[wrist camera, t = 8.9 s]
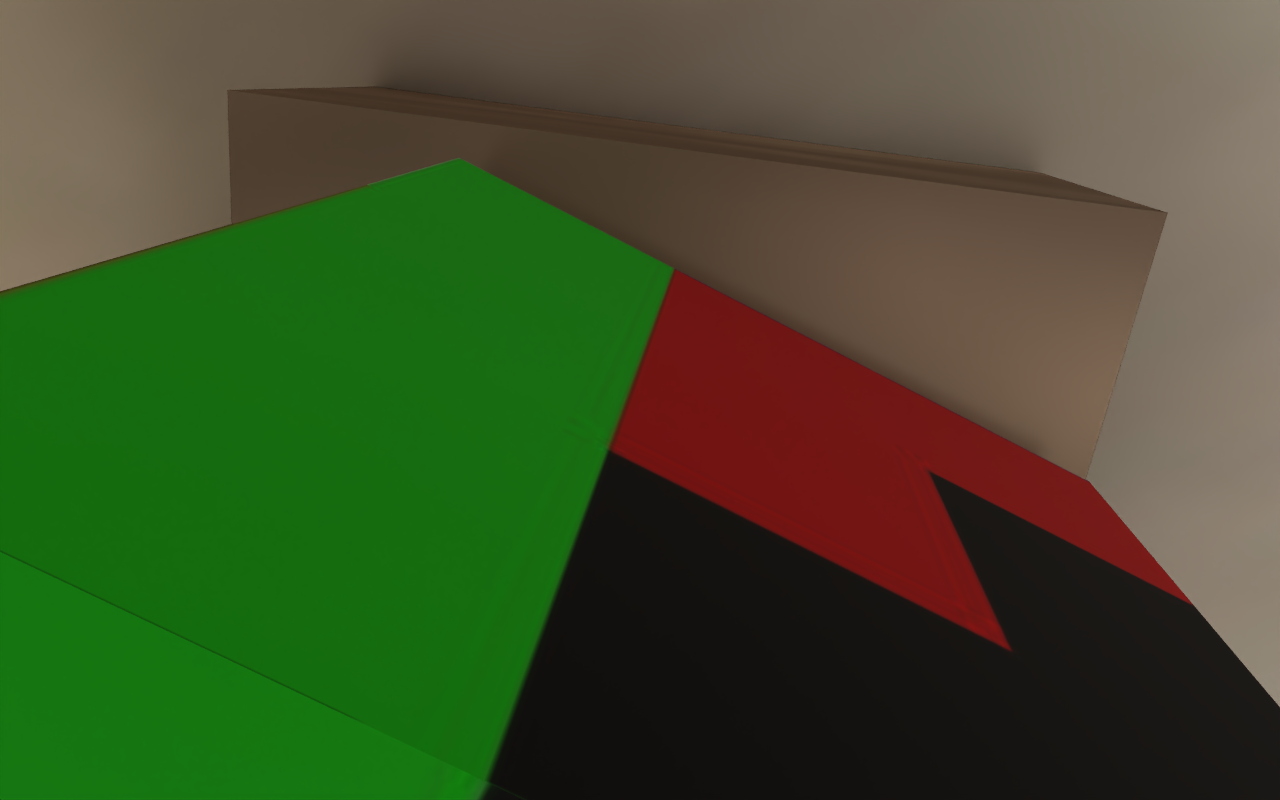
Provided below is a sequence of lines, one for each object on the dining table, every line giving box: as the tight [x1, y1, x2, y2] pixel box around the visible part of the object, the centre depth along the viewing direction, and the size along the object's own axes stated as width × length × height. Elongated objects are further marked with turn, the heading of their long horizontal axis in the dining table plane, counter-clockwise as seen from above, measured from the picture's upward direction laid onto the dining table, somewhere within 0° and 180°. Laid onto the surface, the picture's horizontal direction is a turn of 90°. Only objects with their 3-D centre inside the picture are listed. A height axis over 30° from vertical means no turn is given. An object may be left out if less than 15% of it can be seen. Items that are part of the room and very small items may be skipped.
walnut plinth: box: [228, 87, 1167, 479], centre depth 19 cm, size 14×14×6 cm
